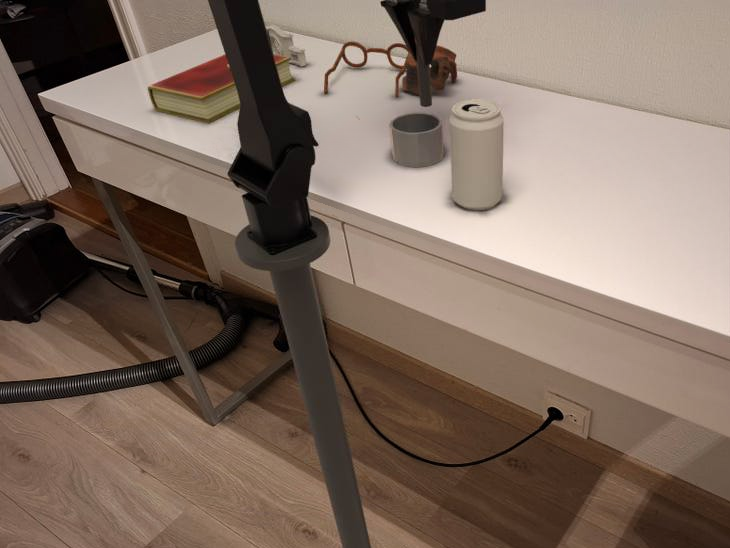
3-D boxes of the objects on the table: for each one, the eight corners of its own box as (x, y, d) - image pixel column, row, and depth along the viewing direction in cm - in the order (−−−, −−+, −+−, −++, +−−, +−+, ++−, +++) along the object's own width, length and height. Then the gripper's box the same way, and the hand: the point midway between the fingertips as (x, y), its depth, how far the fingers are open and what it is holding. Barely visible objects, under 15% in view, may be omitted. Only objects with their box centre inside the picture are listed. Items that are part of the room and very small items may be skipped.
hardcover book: (154, 110, 110) (145, 83, 107) (243, 70, 123) (238, 46, 121) (208, 123, 105) (200, 96, 103) (295, 80, 119) (290, 55, 116)
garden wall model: (308, 65, 125) (302, 31, 121) (300, 68, 124) (294, 33, 120) (269, 52, 131) (262, 19, 127) (261, 55, 130) (254, 22, 126)
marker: (425, 108, 90) (420, 36, 84) (417, 104, 91) (411, 33, 85) (435, 104, 91) (430, 33, 85) (427, 101, 92) (422, 30, 86)
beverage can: (474, 184, 89) (472, 93, 81) (512, 198, 86) (514, 105, 78) (442, 202, 86) (437, 109, 78) (481, 218, 82) (480, 123, 74)
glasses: (414, 71, 122) (412, 41, 119) (397, 97, 112) (395, 66, 109) (345, 68, 124) (341, 39, 120) (322, 94, 114) (317, 63, 111)
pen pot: (413, 172, 92) (411, 138, 89) (383, 155, 96) (379, 122, 93) (453, 156, 96) (452, 123, 92) (422, 140, 100) (420, 108, 96)
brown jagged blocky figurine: (389, 89, 117) (400, 39, 115) (436, 104, 122) (447, 57, 120) (420, 91, 107) (432, 37, 105) (469, 108, 113) (482, 56, 111)
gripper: (521, -79, 75) (518, 65, 86) (418, -98, 86) (426, 33, 96) (445, -65, 70) (451, 87, 80) (344, -86, 80) (362, 51, 91)
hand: (423, 62), depth 87 cm, fingers closed on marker, 2 cm apart
